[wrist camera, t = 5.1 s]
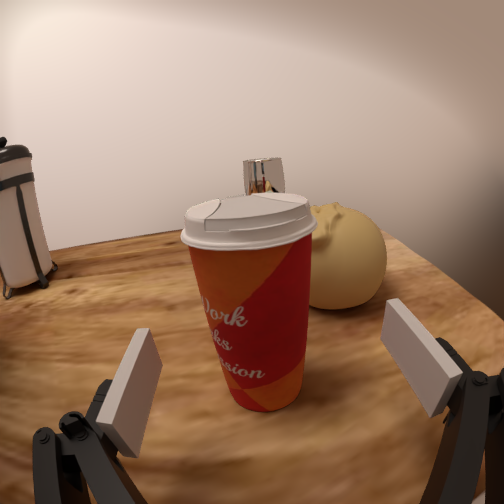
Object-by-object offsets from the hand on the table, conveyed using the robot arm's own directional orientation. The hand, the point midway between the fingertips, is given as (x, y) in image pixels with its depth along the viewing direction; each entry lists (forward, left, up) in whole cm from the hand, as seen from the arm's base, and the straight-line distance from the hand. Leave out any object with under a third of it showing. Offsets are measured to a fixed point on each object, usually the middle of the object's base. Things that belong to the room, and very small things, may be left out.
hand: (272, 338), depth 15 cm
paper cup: (-1, +3, -8) cm, 8 cm away
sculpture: (+9, +16, -8) cm, 20 cm away
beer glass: (+3, +37, -8) cm, 38 cm away
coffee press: (-46, +30, -8) cm, 55 cm away
